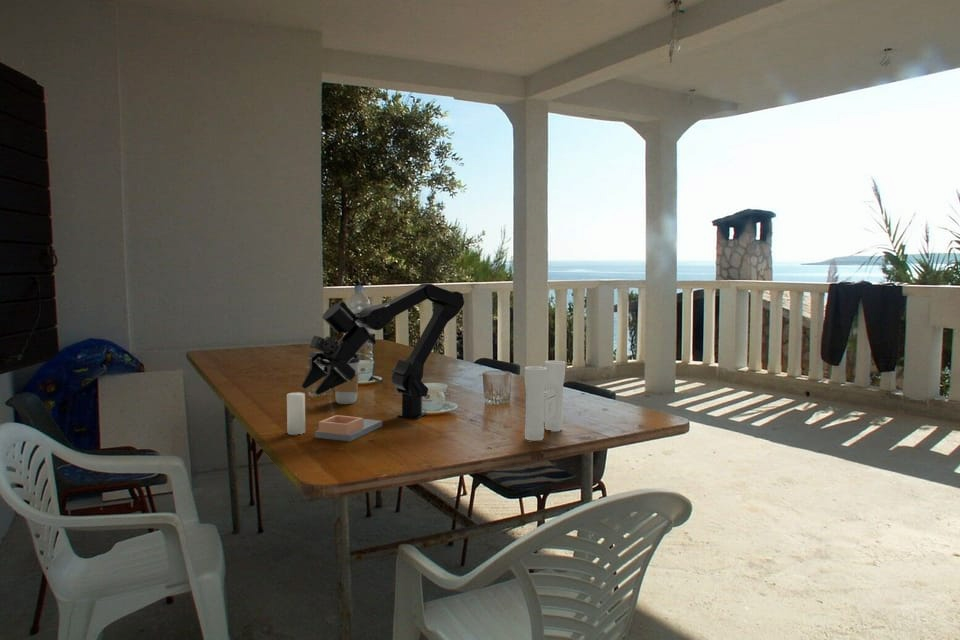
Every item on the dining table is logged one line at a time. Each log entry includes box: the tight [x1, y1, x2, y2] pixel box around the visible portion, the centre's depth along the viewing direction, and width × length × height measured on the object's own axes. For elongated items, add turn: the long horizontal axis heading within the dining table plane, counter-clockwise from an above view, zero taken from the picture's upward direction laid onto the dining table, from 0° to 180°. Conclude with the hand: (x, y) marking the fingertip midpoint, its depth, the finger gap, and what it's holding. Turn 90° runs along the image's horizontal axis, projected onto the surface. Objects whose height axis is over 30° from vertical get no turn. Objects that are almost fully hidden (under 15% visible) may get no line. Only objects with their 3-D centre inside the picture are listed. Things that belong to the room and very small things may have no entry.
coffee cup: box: [334, 353, 360, 405], centre depth 206 cm, size 8×8×15 cm
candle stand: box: [314, 414, 383, 442], centre depth 170 cm, size 16×10×4 cm, turn 160°
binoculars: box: [524, 359, 566, 441], centre depth 169 cm, size 17×5×18 cm, turn 150°
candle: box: [286, 391, 306, 436], centre depth 168 cm, size 4×4×10 cm
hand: (309, 390), depth 170 cm, fingers open, 9 cm apart
